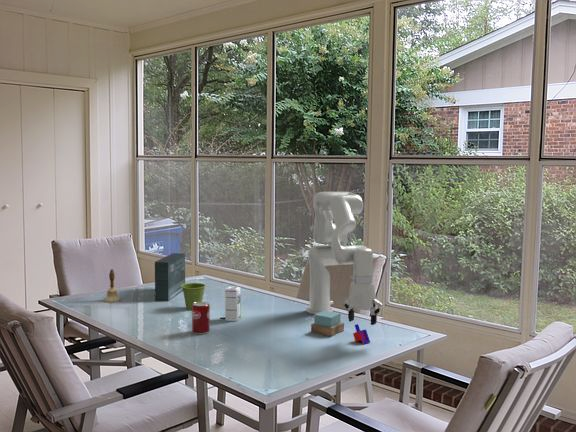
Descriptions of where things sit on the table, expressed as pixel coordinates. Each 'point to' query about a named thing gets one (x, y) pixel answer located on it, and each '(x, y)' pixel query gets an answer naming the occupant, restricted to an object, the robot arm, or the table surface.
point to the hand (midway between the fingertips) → (362, 322)
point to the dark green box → (169, 276)
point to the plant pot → (193, 293)
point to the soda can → (200, 317)
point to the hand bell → (112, 290)
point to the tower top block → (327, 318)
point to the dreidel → (361, 335)
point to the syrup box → (232, 303)
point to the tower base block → (327, 329)
